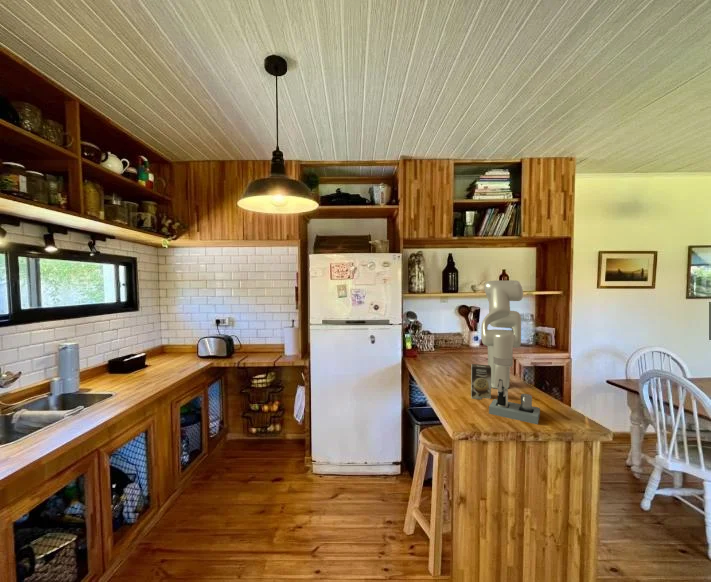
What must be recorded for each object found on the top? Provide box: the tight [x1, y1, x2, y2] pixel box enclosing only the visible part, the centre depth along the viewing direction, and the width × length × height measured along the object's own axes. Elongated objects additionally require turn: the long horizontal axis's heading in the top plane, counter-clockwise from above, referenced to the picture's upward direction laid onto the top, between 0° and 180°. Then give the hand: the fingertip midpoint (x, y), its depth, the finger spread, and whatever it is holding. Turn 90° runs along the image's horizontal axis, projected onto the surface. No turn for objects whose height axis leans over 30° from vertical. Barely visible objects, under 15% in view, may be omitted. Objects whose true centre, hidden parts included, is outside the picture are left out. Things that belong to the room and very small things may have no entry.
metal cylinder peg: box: [520, 393, 533, 413], centre depth 126 cm, size 4×4×9 cm
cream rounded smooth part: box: [498, 390, 509, 408], centre depth 131 cm, size 4×4×9 cm
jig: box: [488, 398, 541, 425], centre depth 129 cm, size 11×18×4 cm, turn 55°
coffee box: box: [470, 363, 492, 400], centre depth 151 cm, size 9×6×16 cm
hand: (502, 402), depth 131 cm, fingers open, 4 cm apart
